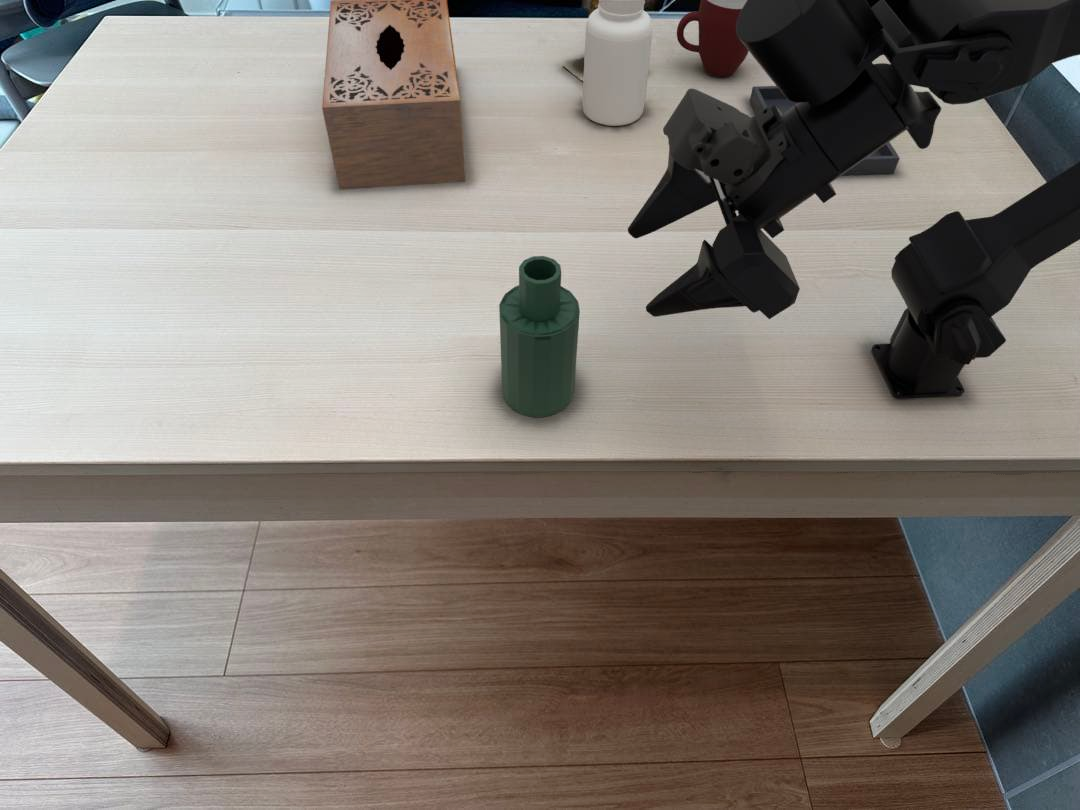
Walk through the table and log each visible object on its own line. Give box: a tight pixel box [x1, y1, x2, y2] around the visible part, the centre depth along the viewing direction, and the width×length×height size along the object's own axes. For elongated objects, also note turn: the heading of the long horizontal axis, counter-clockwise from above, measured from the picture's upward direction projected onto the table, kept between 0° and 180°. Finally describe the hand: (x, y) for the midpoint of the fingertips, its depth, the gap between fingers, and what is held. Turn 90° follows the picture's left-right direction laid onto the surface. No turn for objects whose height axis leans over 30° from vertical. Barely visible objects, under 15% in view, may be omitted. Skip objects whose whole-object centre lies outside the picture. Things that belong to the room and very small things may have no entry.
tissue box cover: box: [321, 0, 467, 190], centre depth 96 cm, size 26×14×10 cm, turn 8°
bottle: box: [498, 255, 581, 418], centre depth 66 cm, size 6×6×14 cm
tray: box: [749, 85, 901, 176], centre depth 99 cm, size 17×13×2 cm
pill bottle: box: [581, 0, 654, 127], centre depth 97 cm, size 8×8×15 cm
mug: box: [676, 0, 750, 78], centre depth 106 cm, size 11×8×10 cm
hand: (639, 271), depth 62 cm, fingers open, 9 cm apart
